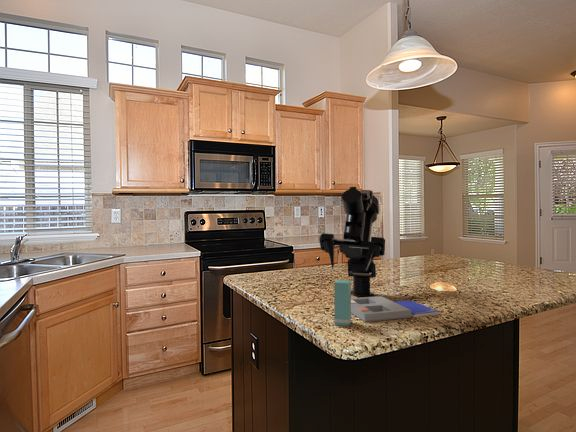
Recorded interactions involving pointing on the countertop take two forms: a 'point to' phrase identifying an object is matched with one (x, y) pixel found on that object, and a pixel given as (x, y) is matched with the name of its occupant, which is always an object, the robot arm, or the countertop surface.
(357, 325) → the countertop surface
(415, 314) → the hard drive
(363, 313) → the socket board
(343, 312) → the plug
